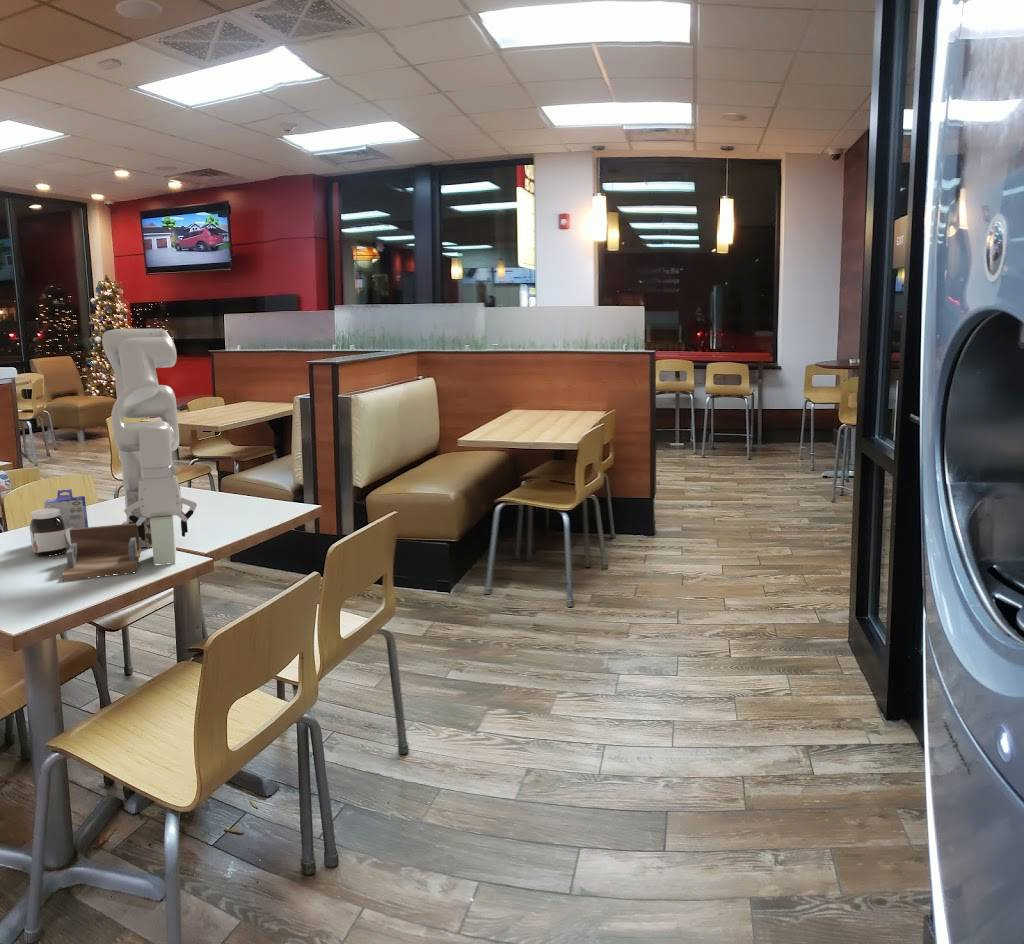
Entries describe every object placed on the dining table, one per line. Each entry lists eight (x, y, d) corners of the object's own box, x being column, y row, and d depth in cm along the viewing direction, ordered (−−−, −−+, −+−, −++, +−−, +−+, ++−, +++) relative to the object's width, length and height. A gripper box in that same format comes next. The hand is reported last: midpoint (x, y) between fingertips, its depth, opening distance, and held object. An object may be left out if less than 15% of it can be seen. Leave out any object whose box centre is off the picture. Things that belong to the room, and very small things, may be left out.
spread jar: (29, 552, 219) (24, 510, 216) (74, 543, 226) (69, 503, 224) (42, 561, 210) (36, 518, 208) (88, 552, 218) (83, 510, 216)
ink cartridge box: (90, 536, 234) (84, 487, 231) (88, 541, 229) (82, 491, 226) (51, 539, 230) (45, 490, 228) (48, 544, 225) (42, 494, 223)
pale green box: (156, 555, 215) (152, 511, 213) (176, 553, 217) (172, 510, 214) (154, 566, 206) (149, 520, 203) (175, 563, 207) (171, 518, 205)
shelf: (74, 560, 211) (70, 528, 209) (140, 553, 216) (137, 523, 215) (63, 580, 194) (59, 547, 193) (135, 573, 200) (132, 540, 198)
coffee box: (151, 548, 221) (145, 491, 218) (130, 547, 222) (124, 490, 219) (171, 539, 230) (166, 484, 227) (151, 538, 231) (146, 483, 228)
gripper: (194, 468, 213) (199, 530, 216) (122, 473, 207) (128, 537, 210) (193, 472, 206) (199, 537, 209) (119, 478, 200) (126, 544, 203)
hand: (163, 537), depth 210 cm, fingers open, 9 cm apart
